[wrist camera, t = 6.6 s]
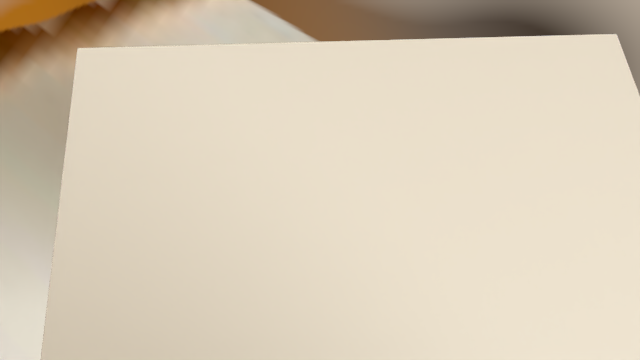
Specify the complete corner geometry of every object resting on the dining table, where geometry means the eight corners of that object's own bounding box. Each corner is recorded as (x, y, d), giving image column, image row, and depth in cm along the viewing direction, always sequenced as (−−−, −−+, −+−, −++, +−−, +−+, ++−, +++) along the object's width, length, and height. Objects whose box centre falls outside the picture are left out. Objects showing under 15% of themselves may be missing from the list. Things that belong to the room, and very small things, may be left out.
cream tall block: (418, 418, 15) (811, 555, 4) (221, 438, 14) (5, 670, 3) (395, 258, 17) (617, 33, 6) (219, 270, 16) (76, 48, 5)
